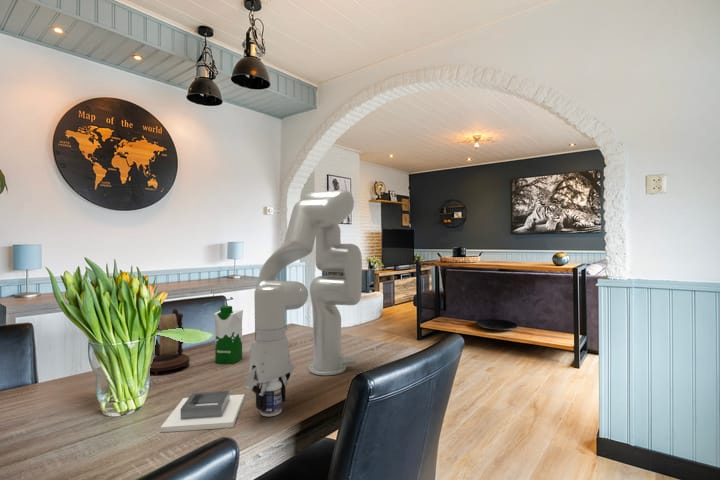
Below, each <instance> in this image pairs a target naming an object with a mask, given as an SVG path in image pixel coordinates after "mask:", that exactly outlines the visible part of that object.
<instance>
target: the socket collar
mask: <svg viewBox="0 0 720 480" xmlns="http://www.w3.org/2000/svg"><path fill="white" fill-rule="evenodd" d="M230 395H231V394H230V390H221V391H220V390H219V391H205V392H203V391H202V392H192V393H191V394H190V396H189V397H187V398H188V400H187V401H186V402H185V404H184V405H183V406H182V408H181V419H194V418H208V417H222V415H223V413H224V411H225V409H226V407H227V404H228V402H229V400H230ZM206 403H218V404H217V405H201V406H195V405H196V404H206Z"/></svg>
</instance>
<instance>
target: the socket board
mask: <svg viewBox="0 0 720 480" xmlns="http://www.w3.org/2000/svg"><path fill="white" fill-rule="evenodd" d="M188 398H189V397H183V398H182V399H181V401H180V402H179V403H178V404H177V405H176V406H175V408H174V410H173V411H172V412H171V413H170V415H169V416H168V417H167V418H166V419H165V420H164V422H163V423H162V425H161V426H160V433H170V432H171V433H173V432H174V433H175V432H185V431H200V430H202V431H203V430H211V429H213V430H214V429H225V428H226V429H227V428H228V429H229V428H234V426H235V423H236V421H237V418H238V416H239V414H240V411H241V409H242V406H243V403H244V401H245V394H243V393H242V394H230V400H229V402H228V404H227V407H226V409H225V411H224V413H223V415H222V417H208V418H194V419H181V408H182V406H183V405H184V404H185V402H186V401H187V400H188ZM217 404H218V403H206V404H196V405H195V406H201V405H217Z"/></svg>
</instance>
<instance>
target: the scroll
mask: <svg viewBox="0 0 720 480" xmlns="http://www.w3.org/2000/svg"><path fill="white" fill-rule="evenodd" d="M160 316H161V317H160V322H159V325H158V328H157V330H156V331H158V332H159V331H162V330H168V329H176V328H182V329H183V330H184V327H183V322H182V321H183V318H184V315H183V313H179V311H178V309H177V308H174V309H173V310H172V312H171V313H170V314H163V315H162V314H161V315H160ZM158 336H159V341H158V339H157V338H155V339H156V345H155V354H154V356H155V357H154V359H153V362H152V364H151V368H150V371H149V372H154V375H155V376H157V375H159V372H164V371H166V372H167V371H171V370H175V369H179V368H181V367H184V368H188V365H189V363H190V361H191V360H190V356H188V355H187V354H184V353H183V352H184V350H183V344H184V341H183V342H180V341H176V340H173V339H171V338H169V337H165V336H160V335H157V336H156V337H158Z"/></svg>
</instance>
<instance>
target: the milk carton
mask: <svg viewBox="0 0 720 480" xmlns="http://www.w3.org/2000/svg"><path fill="white" fill-rule="evenodd" d="M243 312H244V310H243V309H233V306H232V305H222V306H220V310H219V311H217V312H214V313H213V316H214V317H213V318H214V335H215V336H214V337H215V338H214V340H215V341H214V343H215V345H214V350H215V351H214V354H215V356H214V357H215V361H214V362H215V364H222V365H223V364H227V365H229V364H230V365H235V364H236V363H237V362H239V361H240V360H241V359H242V358H243Z"/></svg>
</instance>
